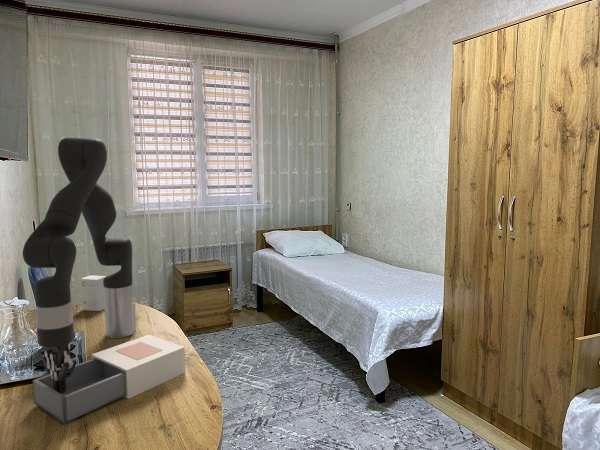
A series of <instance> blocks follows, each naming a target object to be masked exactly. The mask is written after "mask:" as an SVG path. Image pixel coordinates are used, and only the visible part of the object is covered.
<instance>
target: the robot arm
mask: <svg viewBox="0 0 600 450" xmlns="http://www.w3.org/2000/svg"><path fill="white" fill-rule="evenodd" d="M57 153H58V154H57V155H58V160H59V163H60V165H61V168H62V170H63V172H64V173H65V176H66V177H67V180H68V181H69V183H68V184H67V185H66V186H64V187H62V188H61V189H60V190H59V191H58V192H57V193H56V194H55V196H54V197H53V199H52V200H51V201H50V204H49V207H48V210H47V212H46V214H45V217H44V219H43V220H42V221H41V222H40V223H39V225H37V227H36V228H35V229H34V231H33V232H32V233H31V234H30V235H29V236H28V238H27V240H26V241H25V243H24V245H23V248H22V258H23V261H24V263H25V264H26V265H27V266H29V267H30V268H34V269H35V268H36V269H40V268H41V269H44V268H45V269H50V268H51V269H55V272H54V275H50V276H46V277H42V278H40V279H37V281H36V282H35V285H34V293H35V307H36V310H35V324H36V335H37V336H36V338H37V344H38V346H40V347H42V348H43V347H44V349H42V350H40V351H39V355H40V358H41V361H42V363H43V365H44V369H45V370H46V373H47V375H49V374H50V375H51V378H52V379H53V388H54V390H55V391H57V392H59V393H60V394H63V393H65V392H66V379H65V378H67V377H70V376H71V374H72V372H73V370H74V368H75V366H76V365H77V360H76V359H71V356H70V355H71V349H70V350H69V346H68V345H69V343H70V344H71V343H72V342H73V341H74V339H75V325H74V313H73V312H74V311H73V306H72V298H71V279H72V274H73V269H74V265H75V261H76V258H77V257H76V256H77V245H76V244H75V242H74V241H73V240H72V238H70V236H71V235H73V234H74V233H75V231H76V230H77V227H78V224H79V222H80V221H79V220H80V218H81V215H82V216H83V218H84V222H85V223H86V225H87V228H88V231H89V233H90V237H91V240H92V243H93V248H94V252H95V255H96V259H97V261H98V263H99V264H100V265H101V266H104V267H112V266H113V267H115V266H118V267H119V266H120V269H119V270H118V271H116V272H115V273H112V274H109V275H105V276H106V277H105V278H104V279H103V288H104V306H105V309H104V323H105V336H106V337H107V338H109V339H120V338H121V339H122V338H128V337H129V336H131V335H133V334H134V333H135V331H136V329H137V327H136V326H137V325H136V322H137V321H136V305H135V303H134V291H133V290H134V289H133V288H134V287H133V243H132V241H131V240H130V239H129V238H128V237H127V238H125V237H115V238H113V237H112V238H111V237H110V238H108V237H106V235H107V234H108V232H109V231H110V229H111V228H112V226H113V225H114V224H115V222H116V218H117V210H116V207H115V206H116V205H115V202H114V200H113V198H112V197H113V196H111V194H110V193H109V192H108V191H107V190H106V189H105V188H104V187H103V186H101V185H100V184H99V183H98V181H99V179H100V178H101V176H102V174H103V172H104V170H105V167H106V164H107V162H108V161H107V160H108V151H107V147H106V144H105V142H104V141H103V140H101V139H99V138H91V137H74V136H73V137H71V136H69V137H64V138H62V139H61V140H60V141H59V142H58V145H57ZM69 356H70V357H69Z"/></svg>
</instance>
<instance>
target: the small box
mask: <svg viewBox="0 0 600 450" xmlns="http://www.w3.org/2000/svg"><path fill="white" fill-rule="evenodd" d="M106 276H107V275H92V274H91V275H87V276H85V277H81V278H80V290H81V291H80V296H81V309H82V311H90V312H91V311H92V312H101V311H103V310H105V306H104V288H103V279H104V278H105V277H106Z"/></svg>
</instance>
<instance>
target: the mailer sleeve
mask: <svg viewBox="0 0 600 450" xmlns="http://www.w3.org/2000/svg"><path fill="white" fill-rule="evenodd" d="M95 358H96V359H98V360H100V361H103V362H105V363H107V364H109V365H111V366H114V367H116V368H118V369H120V370H122V371H125V372H126V393H127V395H126V396H123V397H122V398H124V399H125V398H126V399H131V398H133V397H135V396H138V395H140V394H142V393H144V392H146V391H149V390H151V389H153V388H155V387H158V386H159V385H162V384H163V383H167V382H168V381H171V380H172V379H174V378H177V377H178V376H179V377H180V376H181V375H183V374H185V373H186V360H185V359H186V351H185V346H182V345H180V344H176V343H174V342H171V341H169V340H165V339H163V338H160V337H157V336H154V335H152V334H146V335H145V336H141V337H137V338H134V339H132V340H129V341H126V342H124V343H121V344H118V345H115V346H112V347H109V348H106V349H103V350H100V351H98V352H95V353H91V360H92V359H95Z"/></svg>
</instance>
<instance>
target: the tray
mask: <svg viewBox="0 0 600 450" xmlns="http://www.w3.org/2000/svg"><path fill="white" fill-rule="evenodd" d="M65 379H66V392H65V393H63V394H60V393H59V392H57V391H55V390H54V388H53V379H52V378H51V375H50V374H47V375H45V376H40V377H39V378H36V379H33V380H32V391H33V392H32V393H33V394H32V395H33V404H34V405H35V406H37V407H39V408H40V409H41V410H43V411H45V412H46V413H48V414H49V415H50V416H52V417H54V418H55V419H57V420H58V421H60V422H61V423H63V424H66V423H68V422H70V421H73V420H74V419H76V418H78V417H81V416H84V415H85V414H88V413H90V412H93V411H94V410H97V409H99V408H102V407H103V406H107V405H108V404H110V403H112V402H114V401H117V400H119V399H121V398H124V397H123V396H126V395H127V393H126V372H125V371H122V370H120V369H118V368H116V367H114V366H111V365H109V364H107V363H105V362H103V361H100V360H98V359H96V358H95V359H92V358H91V359H90V360H87V361H84V362H81V363H78V364H76V366H75V368H74V370H73V372H72V374H71V376H70V377H67V378H65Z"/></svg>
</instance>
